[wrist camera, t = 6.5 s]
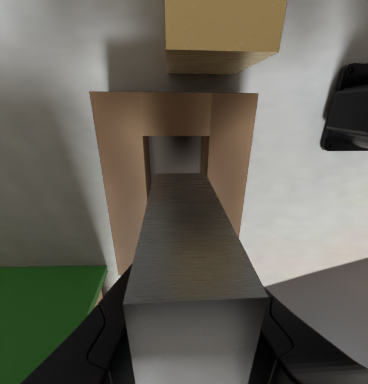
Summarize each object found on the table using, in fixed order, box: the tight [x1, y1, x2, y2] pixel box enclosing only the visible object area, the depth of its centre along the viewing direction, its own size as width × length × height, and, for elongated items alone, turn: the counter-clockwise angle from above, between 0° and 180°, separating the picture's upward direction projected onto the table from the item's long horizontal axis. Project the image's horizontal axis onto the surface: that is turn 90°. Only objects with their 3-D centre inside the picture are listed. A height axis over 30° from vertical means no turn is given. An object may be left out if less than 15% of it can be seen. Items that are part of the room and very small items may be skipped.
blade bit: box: [123, 173, 268, 384], centre depth 8 cm, size 2×6×7 cm, turn 0°
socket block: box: [89, 91, 258, 275], centre depth 17 cm, size 10×14×4 cm
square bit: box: [165, 0, 287, 74], centre depth 11 cm, size 5×5×7 cm
